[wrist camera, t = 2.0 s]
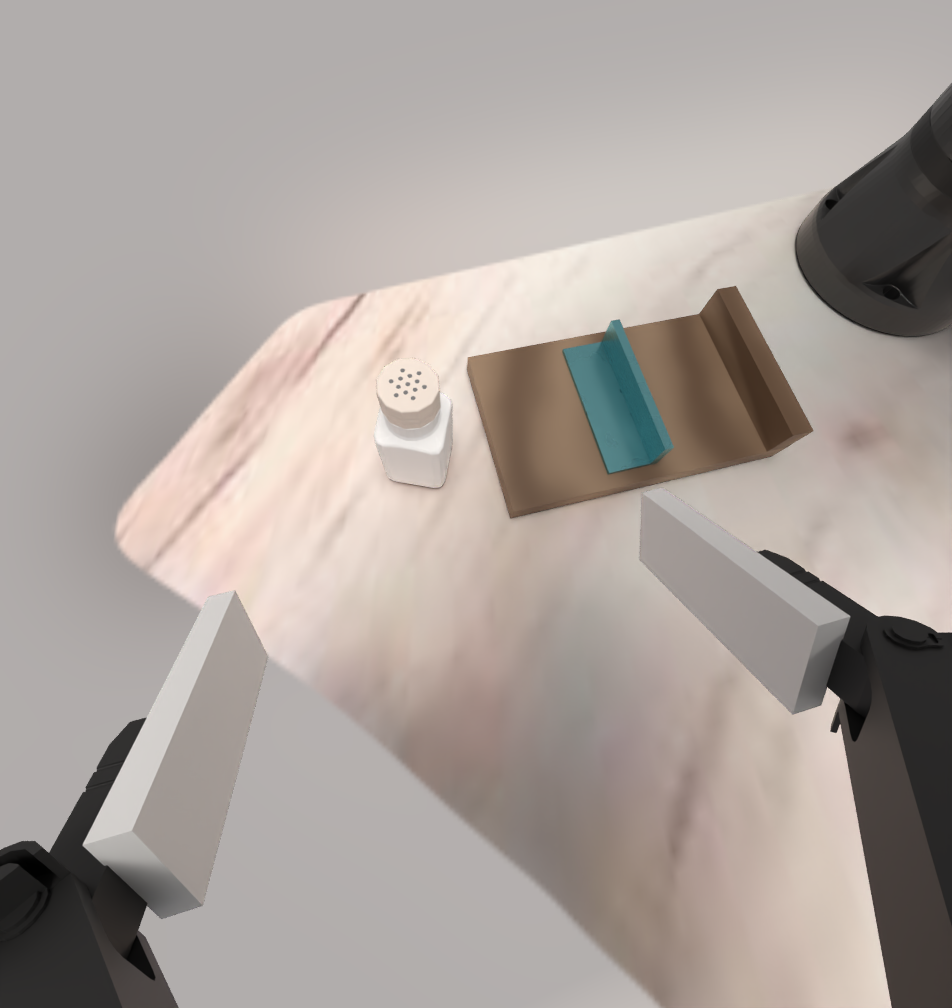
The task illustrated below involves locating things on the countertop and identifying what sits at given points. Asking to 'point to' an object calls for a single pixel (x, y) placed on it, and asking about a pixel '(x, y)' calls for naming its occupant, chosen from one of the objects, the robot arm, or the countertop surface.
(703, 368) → the shelf board
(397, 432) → the pepper shaker
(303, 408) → the countertop surface
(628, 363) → the bookend
